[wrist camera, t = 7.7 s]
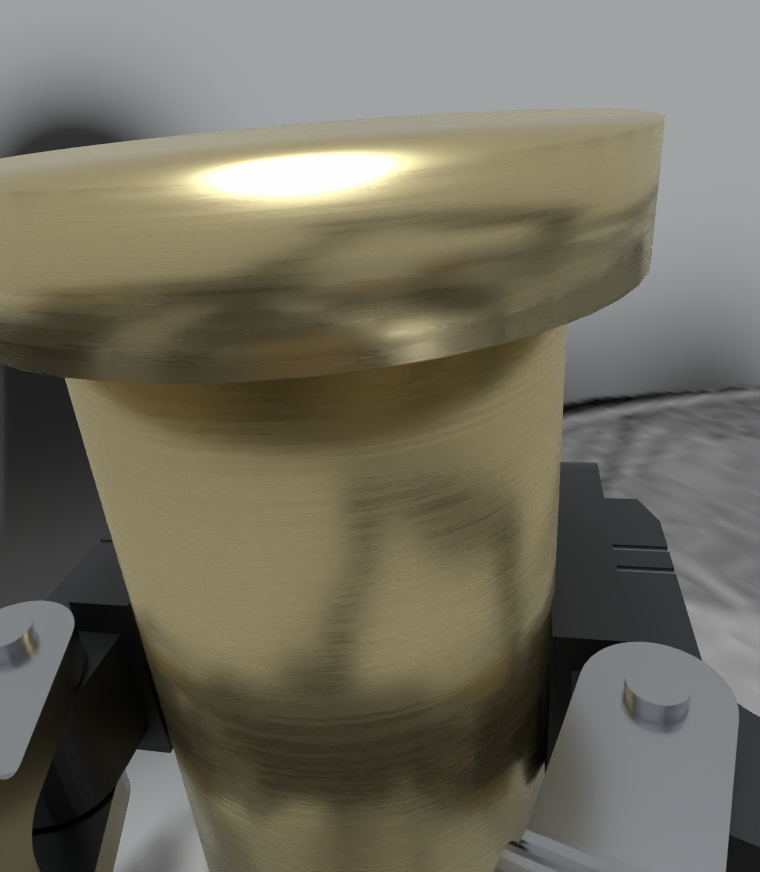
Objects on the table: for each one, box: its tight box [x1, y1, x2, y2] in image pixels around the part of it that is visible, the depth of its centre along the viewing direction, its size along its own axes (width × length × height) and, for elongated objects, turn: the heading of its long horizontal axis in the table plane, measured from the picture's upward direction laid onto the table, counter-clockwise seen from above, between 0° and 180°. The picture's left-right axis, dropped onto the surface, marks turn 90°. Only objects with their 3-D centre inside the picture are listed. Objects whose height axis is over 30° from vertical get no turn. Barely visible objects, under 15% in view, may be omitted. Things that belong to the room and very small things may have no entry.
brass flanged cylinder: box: [0, 109, 665, 872], centre depth 8 cm, size 6×6×12 cm
